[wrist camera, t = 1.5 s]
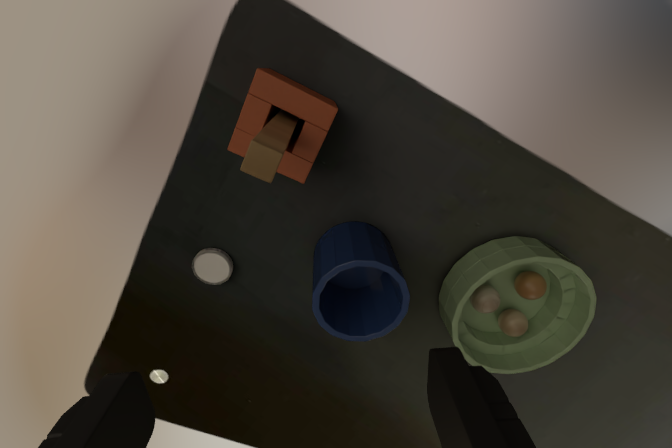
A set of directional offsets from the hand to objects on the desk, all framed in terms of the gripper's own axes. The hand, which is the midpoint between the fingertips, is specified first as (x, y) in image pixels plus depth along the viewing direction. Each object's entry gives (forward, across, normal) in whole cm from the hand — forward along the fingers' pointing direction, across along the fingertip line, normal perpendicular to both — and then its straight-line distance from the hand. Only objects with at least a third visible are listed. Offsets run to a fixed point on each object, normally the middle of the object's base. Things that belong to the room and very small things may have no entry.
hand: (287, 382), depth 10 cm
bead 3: (+23, -22, +14) cm, 35 cm away
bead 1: (+23, -17, +15) cm, 33 cm away
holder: (+25, +2, -4) cm, 26 cm away
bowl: (+25, -20, +16) cm, 36 cm away
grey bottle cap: (+25, +11, +10) cm, 29 cm away
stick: (+25, +2, -4) cm, 26 cm away
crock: (+25, -4, +10) cm, 27 cm away
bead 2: (+23, -20, +19) cm, 36 cm away
